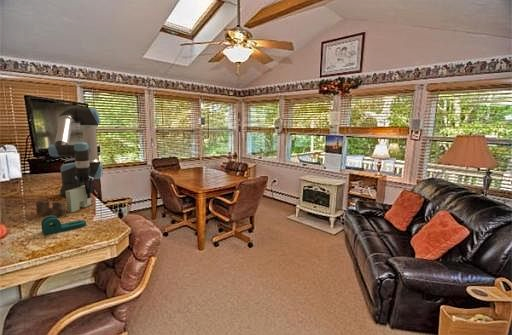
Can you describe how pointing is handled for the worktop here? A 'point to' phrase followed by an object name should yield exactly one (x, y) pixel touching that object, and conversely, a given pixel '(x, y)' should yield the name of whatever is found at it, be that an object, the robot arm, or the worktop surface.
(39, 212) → the walnut slotted plate
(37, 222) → the worktop surface
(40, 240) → the worktop surface
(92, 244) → the worktop surface
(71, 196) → the sage slotted plate
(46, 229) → the bracket
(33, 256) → the worktop surface
